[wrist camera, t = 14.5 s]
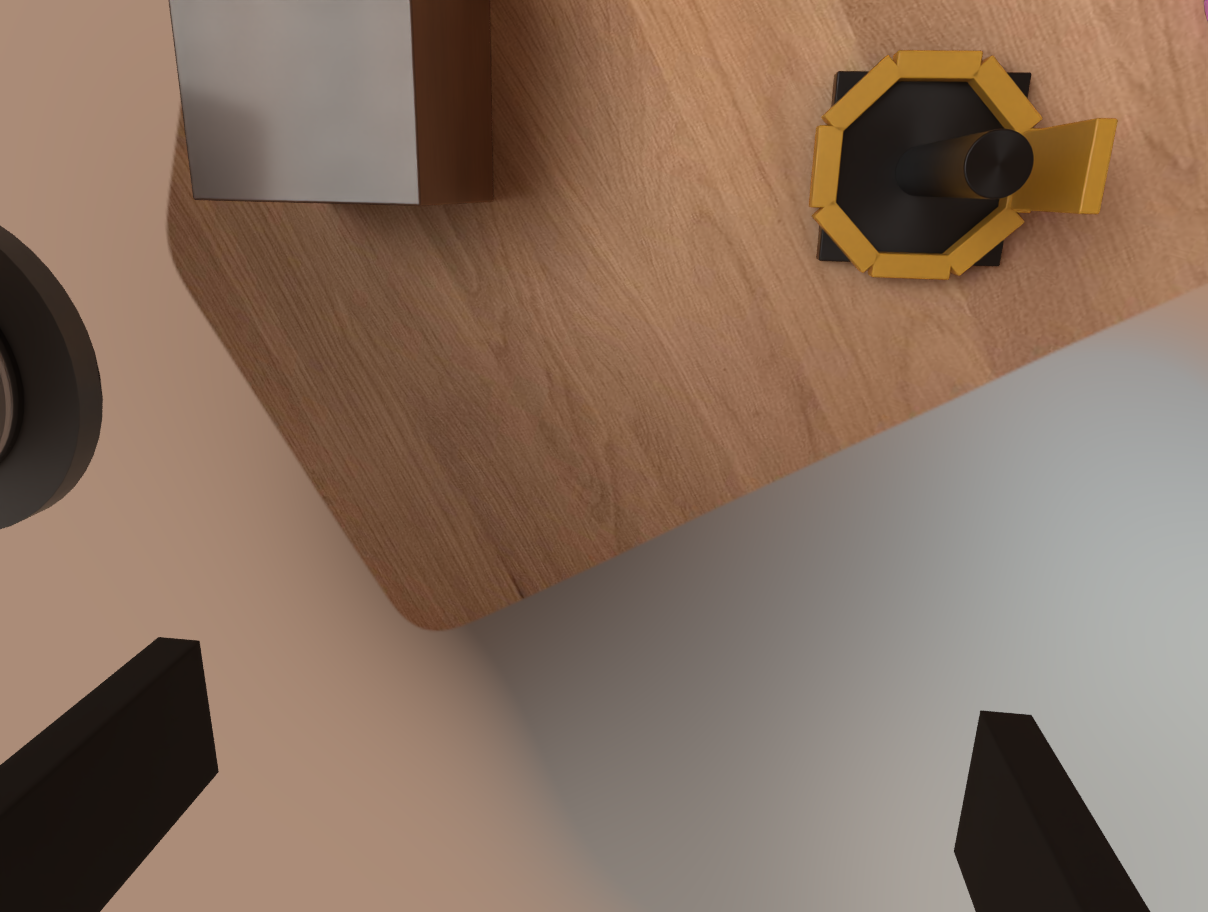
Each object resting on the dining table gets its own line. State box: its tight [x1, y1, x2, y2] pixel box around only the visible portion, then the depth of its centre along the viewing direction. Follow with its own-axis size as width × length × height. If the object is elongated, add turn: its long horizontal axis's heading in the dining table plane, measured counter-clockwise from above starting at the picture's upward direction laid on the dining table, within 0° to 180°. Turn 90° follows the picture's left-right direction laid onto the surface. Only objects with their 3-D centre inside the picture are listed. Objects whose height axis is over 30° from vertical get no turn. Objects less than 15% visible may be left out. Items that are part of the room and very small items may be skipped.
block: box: [169, 0, 493, 206], centre depth 38 cm, size 10×12×12 cm
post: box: [816, 71, 1034, 266], centre depth 36 cm, size 9×9×13 cm
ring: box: [809, 50, 1118, 280], centre depth 37 cm, size 10×10×9 cm
